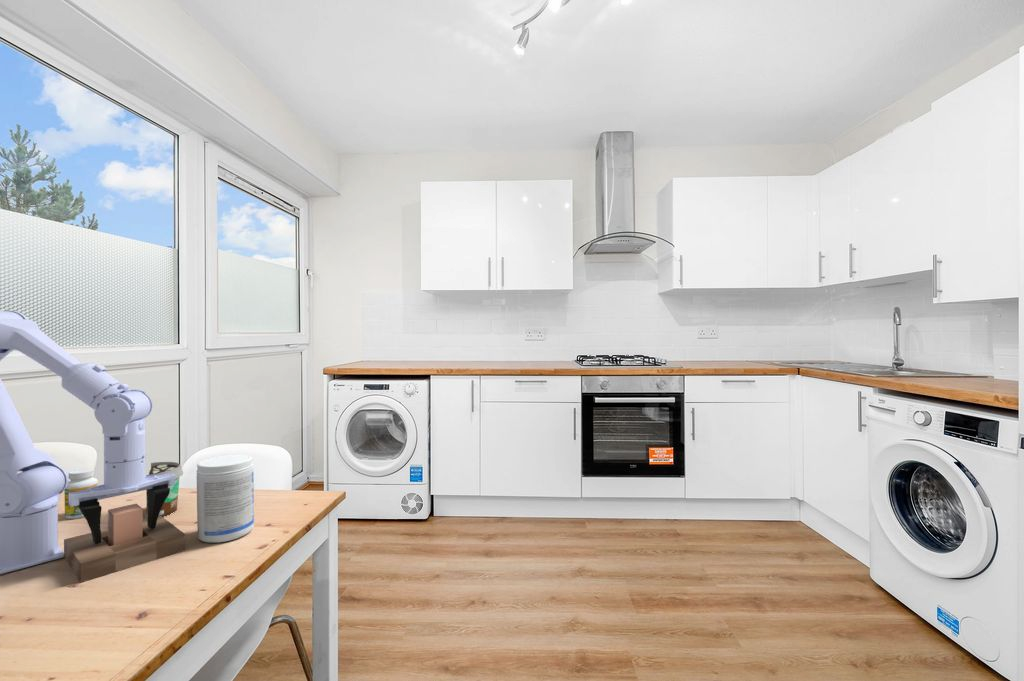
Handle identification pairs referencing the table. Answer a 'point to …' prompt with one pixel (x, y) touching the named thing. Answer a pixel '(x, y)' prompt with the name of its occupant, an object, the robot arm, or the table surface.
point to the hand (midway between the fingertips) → (125, 534)
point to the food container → (172, 499)
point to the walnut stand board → (121, 550)
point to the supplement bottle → (78, 489)
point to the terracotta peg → (125, 524)
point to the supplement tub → (225, 498)
